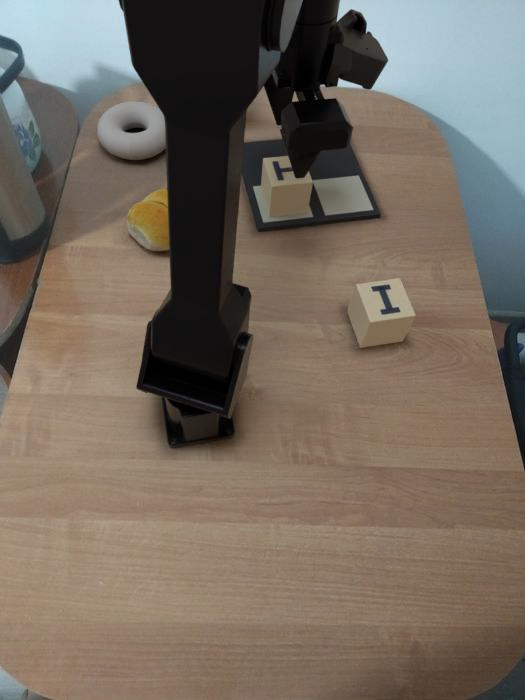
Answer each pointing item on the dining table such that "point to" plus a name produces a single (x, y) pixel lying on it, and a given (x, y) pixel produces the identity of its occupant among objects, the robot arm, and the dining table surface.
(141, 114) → the donut
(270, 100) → the robot arm
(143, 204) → the bread roll
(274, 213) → the letter H
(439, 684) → the dining table surface
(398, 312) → the letter I
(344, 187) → the word mat
